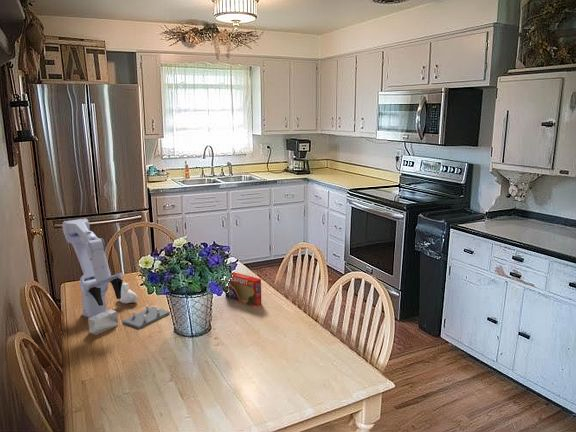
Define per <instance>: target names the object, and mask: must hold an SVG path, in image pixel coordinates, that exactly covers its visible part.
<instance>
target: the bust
mask: <svg viewBox="0 0 576 432" xmlns="http://www.w3.org/2000/svg"><path fill="white" fill-rule="evenodd" d="M130 285H131V284H130V283H128V282H126V281H123V283H122V287H121V299H118V300H119V302H120V303H122V304H126V305H127V304H132V303H137V302H138V300H139V298H138V295H137V294H136V292H135V291H132V289H130V288H129V286H130Z"/></svg>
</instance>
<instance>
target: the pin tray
mask: <svg viewBox="0 0 576 432" xmlns="http://www.w3.org/2000/svg"><path fill="white" fill-rule="evenodd" d="M131 313H132V314H131V315H132V316H129V317H128V318H125V319H123V320H122V321H121V322H122V324H124V325H127V326H129V327H132V328H135V329H138V330H140V329H142V328H144V327H146V326H149V325H150V324H152V323H154V322H156V321H158V320H160V319H163V318H164V317H167V316H168V315H170V314H171V313H170V311H169V310H165V309H163V308H160V307H159V308H158V307H155V306H151V307H150V306H149V305H148V304H146V305H145V310H143V311H141V312H139V313H136V311H135V310H133V311H132V312H131Z"/></svg>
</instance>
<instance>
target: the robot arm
mask: <svg viewBox="0 0 576 432" xmlns="http://www.w3.org/2000/svg"><path fill="white" fill-rule="evenodd" d="M61 226H62V232H63V236H64V238H65V240H66V242H67V243H68V244H71V245H72V247H73V249H74V252H75V255H76V257H77V260H78V262H79V265H80V268H81V270H82V273H83V274H82V276H80V279H79V283H78V284H79V287H80V293H81V295H82V297H81V306H82V313H80V315H81V316H83V317H87V318H91V317H93V316H95V315H98V314H100V313H102V312H105V311H107V310H108V309H107V305H106V304H107V301H106V294H107V292H108V289H109V284H111V286H112V288H113V291H114V294H115V297H116V300H119V299H121V287H122V283H123V278H124V275H123V272H118V273H115V274H113V275H112V274H111V270H110V266H109V263H108V258H107V255H106V243H105V240H104V238H102V237H100V238H99V237H98V236H97V235H96V234H95V232H94V231H92V230H90V227H91V226H90V221H89V220H88V219H87V218H86V217H85V218H79V219H73V220H64V221H63V222H62V224H61Z"/></svg>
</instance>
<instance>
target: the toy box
mask: <svg viewBox="0 0 576 432" xmlns="http://www.w3.org/2000/svg"><path fill="white" fill-rule="evenodd" d="M232 272H233V278H232V279H230V281H229V283H228V286H229V292H228V293H226V292H225V298H226V299H229V300H232V301H235V302H238V303H242V304H245V305H249V306H252V307H254V306H255V308H257V307H259V306H260V305H262V279H261V278H259V277H258V278H257V277H253V276H250V275H246V274H242V273H239V272H235V271H232Z"/></svg>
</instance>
